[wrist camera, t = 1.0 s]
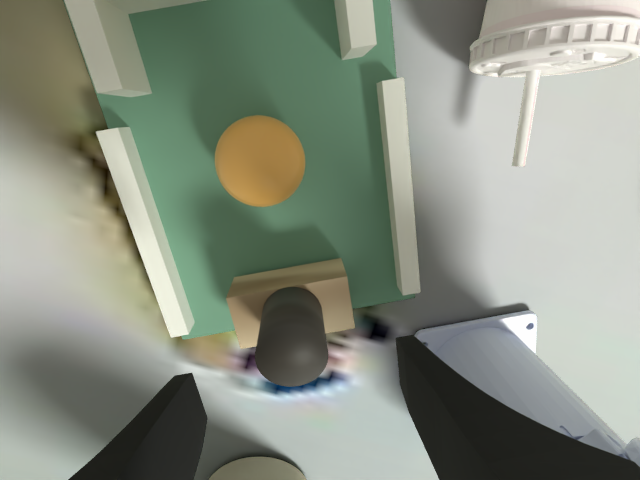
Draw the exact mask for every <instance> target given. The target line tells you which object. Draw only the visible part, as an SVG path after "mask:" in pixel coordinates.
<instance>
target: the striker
mask: <svg viewBox="0 0 640 480" xmlns="http://www.w3.org/2000/svg"><path fill="white" fill-rule="evenodd" d="M226 300H227V303H228V307H229V310H230V313H231V317H232V320H233V324H234V327H235V331H236V334H237V338H238V341H239V345H240V348H241V349H243V348H249V347H254V346H256V352H255V361H256V365H257V368H258V370H259V371H260V373H261V374H262V375H263V376H264V377H265V378H266V379H268V380H269V381H271V382H273V383H275V384H278V385H282V386H300V385H304V384H307V383H309V382H311V381H313V380H314V379H316V378H317V377H318V376H319V375H320V374H321V373H322V372H323V370H324V369H325V367H326V364H327V361H328V349H327V341H326V333H331V332H337V331H342V330H348V329H353V328H355V324H354V318H353V311H352V305H351V298H350V292H349V285H348V279H347V274H346V271H345V268H344V265H343V262H342V259H341V258H338V259H332V260H327V261H321V262H316V263H310V264H304V265H299V266H293V267H288V268H282V269H277V270H271V271H265V272H260V273H254V274H249V275H243V276H238V277H234V279H233V281H232V284H231V287H230V289H229V292H228V294H227V297H226Z"/></svg>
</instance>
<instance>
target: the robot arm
mask: <svg viewBox="0 0 640 480" xmlns="http://www.w3.org/2000/svg"><path fill="white" fill-rule="evenodd" d="M529 323H530V324H529ZM527 324H529V325H528V326H526V325H527ZM536 334H537V315H536V314H535V313H534V312H532V311H530V310H527V311H521V312H516V313H510V314H505V315H499V316H494V317H488V318H483V319H477V320H472V321H466V322H461V323H455V324H450V325H444V326H439V327H433V328H428V329H422V330H419V331H417V332H416V334H415V336H414V335H410V336H404V337H398V338H396V346H397V356H398V367H399V377H400V385H401V389H402V392H403V395H404V398H405V401H406V404H407V407H408V410H409V413H410V415H411V418H412V420H413V422H414V424H415V427H416V429H417V431H418V433H419V436H420V438H421V440H422V442H423V444H424V447H425V449H426V451H427V453H428V455H429V458H430V460H431V462H432V464H433V466H434V469H435V471H436V473H437V475H438V478H439V480H640V438H634V439H632V440H631V441H630V442H629V443H628V445H627V444H626V443H625V442H624V441H623V440H622V439H621V438H620V437H619V436H618V435H617V434H616V433H615V432H614V431H613V430H612V429H611V428H610V427H609V426H608V425H607V424H606V423H605V422H604V421H603V420H602V419H601V418H600V417H599V416H598V415H597V414H596V413H595V412H594V411H593V410H592V409H591V408H590V407H589V406H588V405H587V404H586V403H585V402H584V401H583V400H582V399H581V398H580V397H579V396H578V395H577V394H576V393H575V392H573V391H572V390H571V389H570V388H569V387H568V386H567V385H566V384H565V383H564V382H563V381H562V380H561V379H560V378H559V377H558V376H557V375H556V374H555V373H554V372H553V371H552V370H551V369H550V368H549V367H548V366H547V365H546V364H545V363H544V362H543V361H542V360H541V359H540V358H539V357H538V356H537V355H536ZM423 342H426V343H425V344H423ZM206 424H207V415H206V412H205V410H204V407H203V404H202V401H201V398H200V395H199V392H198V389H197V386H196V383H195V380H194V377H193V374H192V373H188V374H182V375H177V376H174V377H173V378H172V379H171V380H170V381H169V382H168V383H167V384H166V385H165V386H164V387H163V388H162V389H161V390H160V391H159V392H158V393H157V395H156V396H155V397H154V398H153V399H152V400H151V401H150V402H149V403H148V404H147V405H146V406H145V407H144V408H143V409H142V410H141V412H140V413H139V414H138V415H137V416H136V417H135V418H134V419H133V420H132V421H131V422H130V423H129V424H128V425H127V426H126V427H125V428H124V429H123V430H122V431H121V432H120V433H119V434H118V435H117V436H116V437H115V438H114V439H113V440H112V441H111V442H110V443H109V444H108V445H107V446H106V447H105V448H104V449H103V450H101V451H100V452H99V453H98V454H97V455H96V456H95V457H94V458H93V459H92V460H91V461H89V462H88V463H87V464H86V465H85V466H84V467H83V468H81V469H80V470H79V471H78V472H77V473H76V474H74V475H73V476H72V477H71V478H70V479H69V480H193V479H194V476H195V472H196V469H197V465H198V462H199V458H200V455H201V451H202V447H203V442H204V436H205V430H206Z"/></svg>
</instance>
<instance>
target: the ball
mask: <svg viewBox="0 0 640 480" xmlns="http://www.w3.org/2000/svg"><path fill="white" fill-rule="evenodd" d="M215 168H216V173H217V176H218V178H219V180H220V182H221V184H222V186H223V187H224V188H225V190H226V191H227V192H228V193H229V194H230V195H231V196H232V197H234V198H235V199H236V200H238V201H240V202H242V203H244V204H247V205H250V206H255V207H268V206H273V205H276V204H279V203H281V202H283V201H285V200H286V199H288V198H289V197H290V196H291V195H292V194H293V193H294V192H295V191H296V190H297V188H298V187H299V185H300V183H301V181H302V179H303V175H304V172H305V154H304V150H303V147H302V144H301V142H300V140H299V138H298V137H297V135H296V134H295V133H294V132H293V130H292V129H291V128H290V127H288V126H287V125H286V124H284V123H283V122H281V121H279V120H277V119H275V118H272V117H269V116H263V115H255V116H248V117H245V118H242V119H240V120H238V121H236V122H234V123H233V124H232V125H230V126H229V127H228V128H227V129H226V130H225V131H224V133H223V134H222V135H221V137H220V139H219V141H218V144H217V147H216V151H215Z"/></svg>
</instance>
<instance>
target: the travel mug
mask: <svg viewBox="0 0 640 480" xmlns="http://www.w3.org/2000/svg"><path fill="white" fill-rule="evenodd" d="M209 480H307V479H306V478H305V476H304V475H303V474H302V473H301V472H300V471H299V470H298V469H297V468H296V467H294V466H293V465H291V464H289V463H287V462H285V461H282V460H279V459H275V458H270V457H247V458H242V459H238V460H235V461H232V462H230V463H228V464H226V465H224V466H222V467H221V468H219V469H218V470H217V471H216V472H215V473H214V474H213V475H212V476H211V477H210V478H209Z"/></svg>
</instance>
